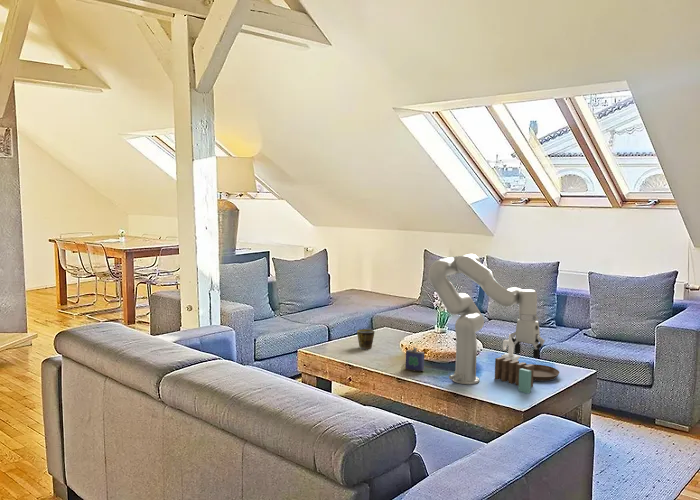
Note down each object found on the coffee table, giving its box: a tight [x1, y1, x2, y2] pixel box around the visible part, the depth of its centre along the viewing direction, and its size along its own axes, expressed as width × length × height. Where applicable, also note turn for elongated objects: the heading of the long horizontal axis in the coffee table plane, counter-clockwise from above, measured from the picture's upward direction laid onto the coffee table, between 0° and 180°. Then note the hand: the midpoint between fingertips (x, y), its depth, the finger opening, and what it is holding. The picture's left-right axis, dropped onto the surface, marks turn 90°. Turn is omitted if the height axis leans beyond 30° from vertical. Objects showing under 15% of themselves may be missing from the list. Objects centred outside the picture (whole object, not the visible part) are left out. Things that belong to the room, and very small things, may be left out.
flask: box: [404, 347, 425, 372], centre depth 314 cm, size 10×3×12 cm, turn 60°
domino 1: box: [494, 356, 505, 381], centre depth 302 cm, size 2×5×10 cm, turn 129°
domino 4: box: [515, 361, 527, 387], centre depth 293 cm, size 2×5×10 cm, turn 129°
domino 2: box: [500, 359, 512, 383], centre depth 299 cm, size 2×5×10 cm, turn 129°
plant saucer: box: [526, 363, 560, 382], centre depth 308 cm, size 21×21×3 cm
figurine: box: [500, 333, 521, 361], centre depth 331 cm, size 7×9×15 cm
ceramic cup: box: [356, 328, 375, 351], centre depth 357 cm, size 13×10×10 cm
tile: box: [518, 368, 532, 394], centre depth 283 cm, size 2×5×10 cm, turn 39°
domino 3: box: [507, 360, 520, 385], centre depth 296 cm, size 2×5×10 cm, turn 129°
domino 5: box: [523, 363, 534, 388], centre depth 290 cm, size 2×5×10 cm, turn 129°
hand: (526, 355), depth 281 cm, fingers open, 9 cm apart
